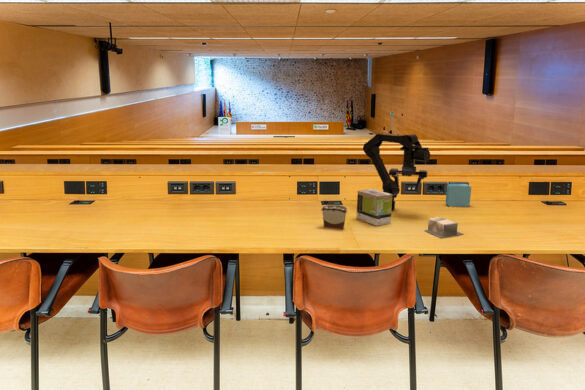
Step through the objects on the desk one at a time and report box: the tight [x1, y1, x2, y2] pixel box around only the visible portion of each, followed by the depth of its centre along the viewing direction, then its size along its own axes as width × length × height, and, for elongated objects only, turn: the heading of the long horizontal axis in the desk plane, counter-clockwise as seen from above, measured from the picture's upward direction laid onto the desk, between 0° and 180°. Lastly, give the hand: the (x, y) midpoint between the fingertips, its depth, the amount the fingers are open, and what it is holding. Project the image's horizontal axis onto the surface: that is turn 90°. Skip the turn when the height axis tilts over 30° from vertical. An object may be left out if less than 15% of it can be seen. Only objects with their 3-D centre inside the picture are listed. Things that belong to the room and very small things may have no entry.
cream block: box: [427, 216, 459, 236], centre depth 205 cm, size 5×7×11 cm
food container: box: [321, 204, 348, 230], centre depth 212 cm, size 12×6×10 cm, turn 71°
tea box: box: [356, 188, 393, 227], centre depth 220 cm, size 15×10×15 cm
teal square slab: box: [445, 183, 472, 208], centre depth 249 cm, size 12×4×12 cm, turn 86°
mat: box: [423, 229, 464, 239], centre depth 205 cm, size 11×13×1 cm
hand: (407, 189), depth 232 cm, fingers open, 9 cm apart
